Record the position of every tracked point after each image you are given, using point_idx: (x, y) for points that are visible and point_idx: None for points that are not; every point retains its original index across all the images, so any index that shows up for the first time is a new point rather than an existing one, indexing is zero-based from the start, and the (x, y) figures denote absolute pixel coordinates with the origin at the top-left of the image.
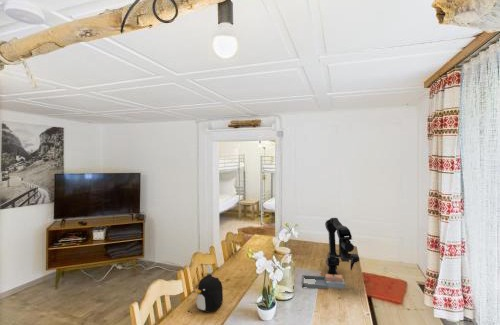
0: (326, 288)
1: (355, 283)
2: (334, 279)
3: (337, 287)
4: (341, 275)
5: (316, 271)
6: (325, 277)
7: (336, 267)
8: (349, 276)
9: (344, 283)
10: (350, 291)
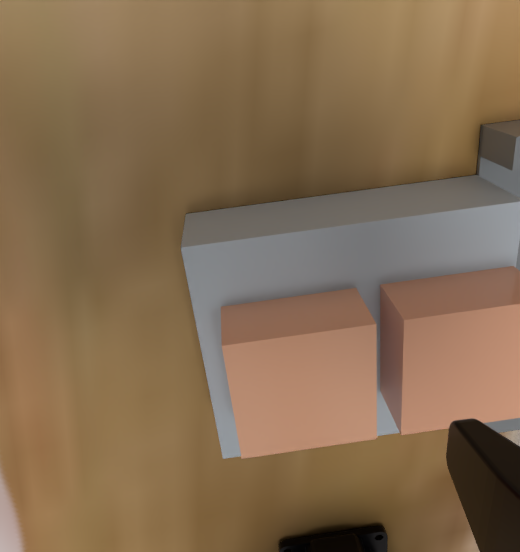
0: (497, 125)
1: (47, 412)
2: None
3: (311, 202)
4: (245, 441)
5: None
6: None
7: (513, 465)
8: (135, 546)
9: (195, 255)
10: (102, 153)
